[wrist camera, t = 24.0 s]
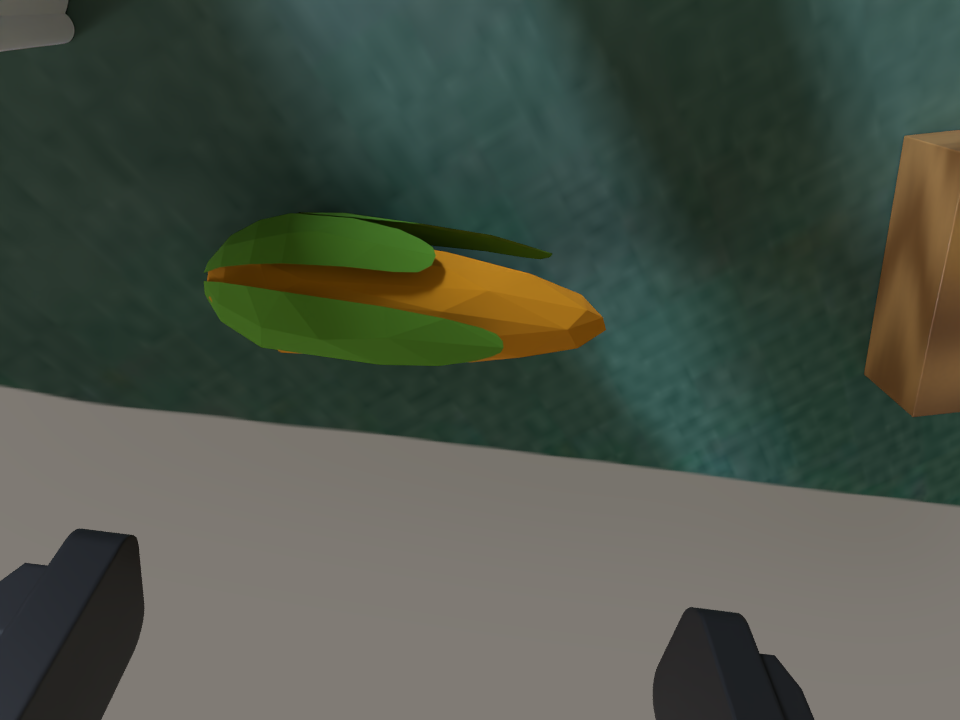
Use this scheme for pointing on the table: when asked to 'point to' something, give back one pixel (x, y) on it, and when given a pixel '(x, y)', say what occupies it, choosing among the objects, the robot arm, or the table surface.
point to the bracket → (34, 23)
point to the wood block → (921, 282)
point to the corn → (389, 293)
